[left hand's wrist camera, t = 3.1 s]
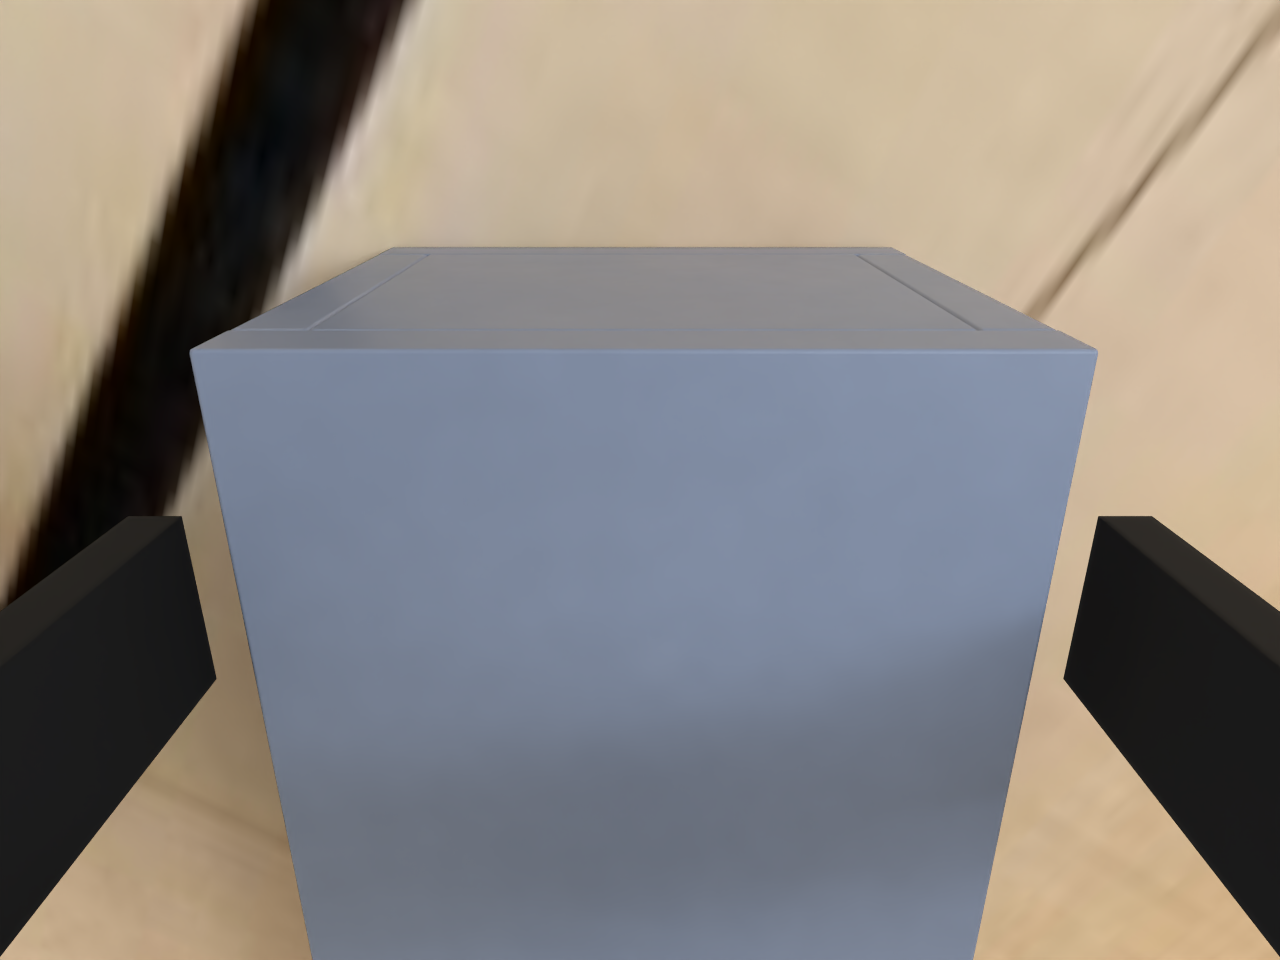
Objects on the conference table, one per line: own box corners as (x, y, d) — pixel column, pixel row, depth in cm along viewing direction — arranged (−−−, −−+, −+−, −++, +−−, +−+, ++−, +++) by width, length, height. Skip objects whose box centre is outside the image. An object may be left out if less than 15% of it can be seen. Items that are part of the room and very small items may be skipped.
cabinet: (810, 1007, 25) (884, 1392, 18) (472, 1007, 25) (399, 1392, 18) (893, 246, 17) (1101, 349, 9) (390, 247, 17) (186, 349, 9)
